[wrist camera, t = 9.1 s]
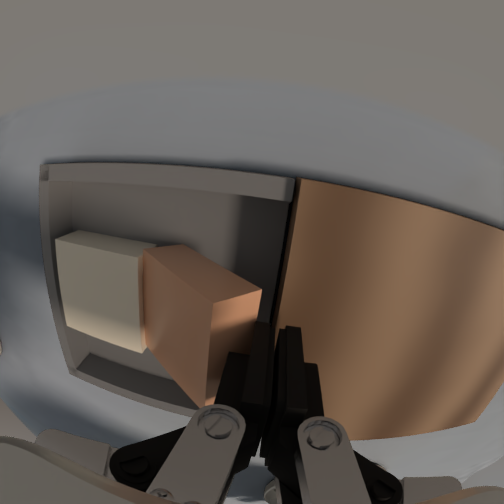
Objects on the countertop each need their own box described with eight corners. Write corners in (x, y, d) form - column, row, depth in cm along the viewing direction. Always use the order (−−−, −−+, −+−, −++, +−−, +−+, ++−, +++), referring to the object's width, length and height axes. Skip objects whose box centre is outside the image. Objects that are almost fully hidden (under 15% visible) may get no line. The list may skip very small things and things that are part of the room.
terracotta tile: (262, 289, 9) (213, 303, 8) (242, 393, 10) (204, 412, 9) (183, 244, 12) (143, 248, 11) (179, 334, 14) (145, 344, 12)
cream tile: (55, 239, 11) (78, 229, 13) (67, 325, 12) (85, 310, 14) (137, 257, 10) (157, 244, 12) (142, 353, 12) (157, 332, 14)
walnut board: (529, 240, 11) (558, 253, 8) (460, 397, 14) (474, 421, 12) (296, 177, 12) (301, 179, 9) (256, 398, 15) (251, 434, 13)
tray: (292, 177, 12) (295, 179, 9) (253, 398, 15) (249, 428, 13) (70, 162, 12) (39, 164, 10) (88, 353, 16) (69, 373, 14)
